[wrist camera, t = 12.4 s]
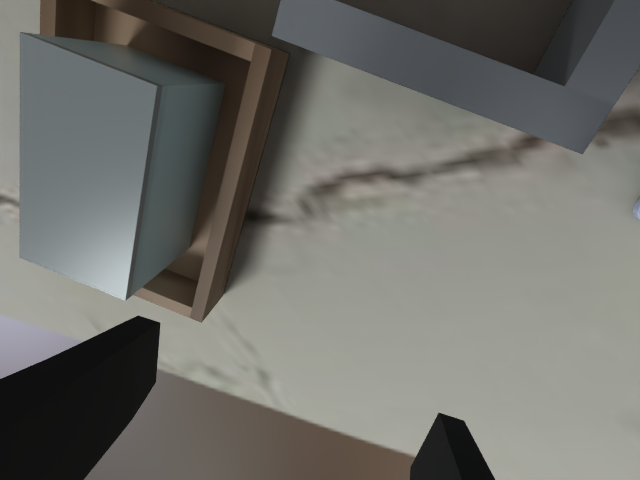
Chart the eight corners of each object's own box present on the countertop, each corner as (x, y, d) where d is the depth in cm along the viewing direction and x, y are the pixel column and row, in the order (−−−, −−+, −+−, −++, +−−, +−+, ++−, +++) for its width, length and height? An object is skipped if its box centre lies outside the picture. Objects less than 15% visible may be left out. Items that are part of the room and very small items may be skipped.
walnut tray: (290, 53, 15) (271, 49, 13) (222, 295, 20) (201, 322, 18) (92, -22, 16) (41, -39, 13) (75, 235, 21) (35, 255, 18)
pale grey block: (225, 83, 16) (157, 86, 11) (189, 248, 19) (125, 300, 15) (127, 45, 16) (20, 32, 11) (108, 215, 19) (19, 257, 15)
